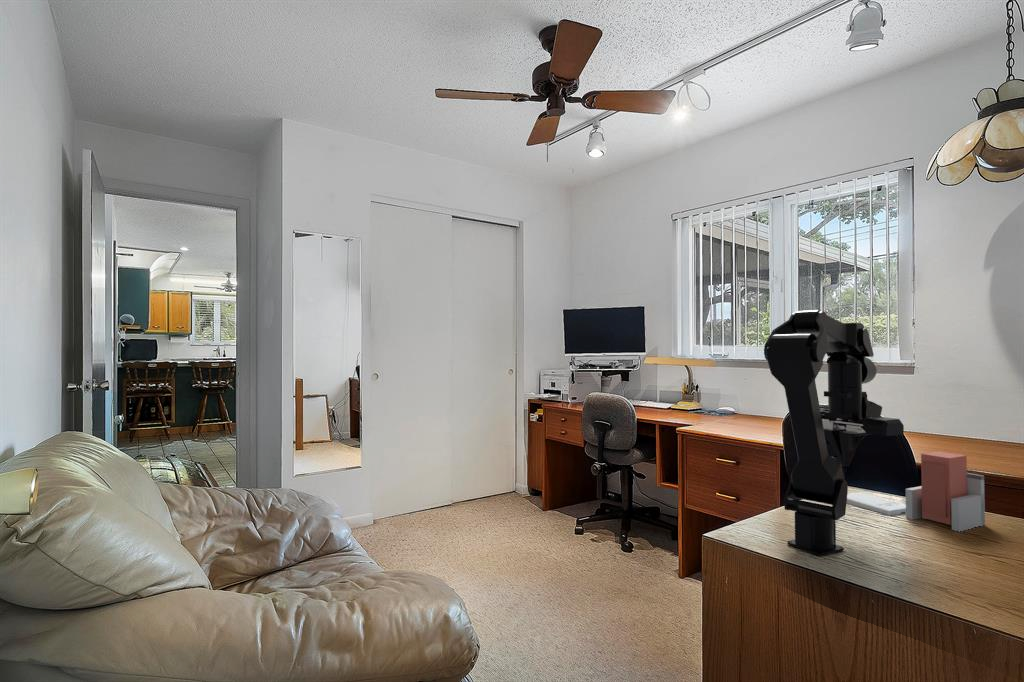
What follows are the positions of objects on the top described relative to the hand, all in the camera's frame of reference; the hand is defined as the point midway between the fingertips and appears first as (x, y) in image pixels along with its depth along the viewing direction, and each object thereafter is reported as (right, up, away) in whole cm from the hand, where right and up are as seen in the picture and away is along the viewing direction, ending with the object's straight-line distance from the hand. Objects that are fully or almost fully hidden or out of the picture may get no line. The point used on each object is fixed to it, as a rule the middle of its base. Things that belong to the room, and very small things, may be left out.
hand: (845, 465), depth 107 cm
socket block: (+21, -12, +2) cm, 25 cm away
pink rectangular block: (+21, -12, +2) cm, 25 cm away
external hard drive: (+15, -13, +14) cm, 24 cm away
